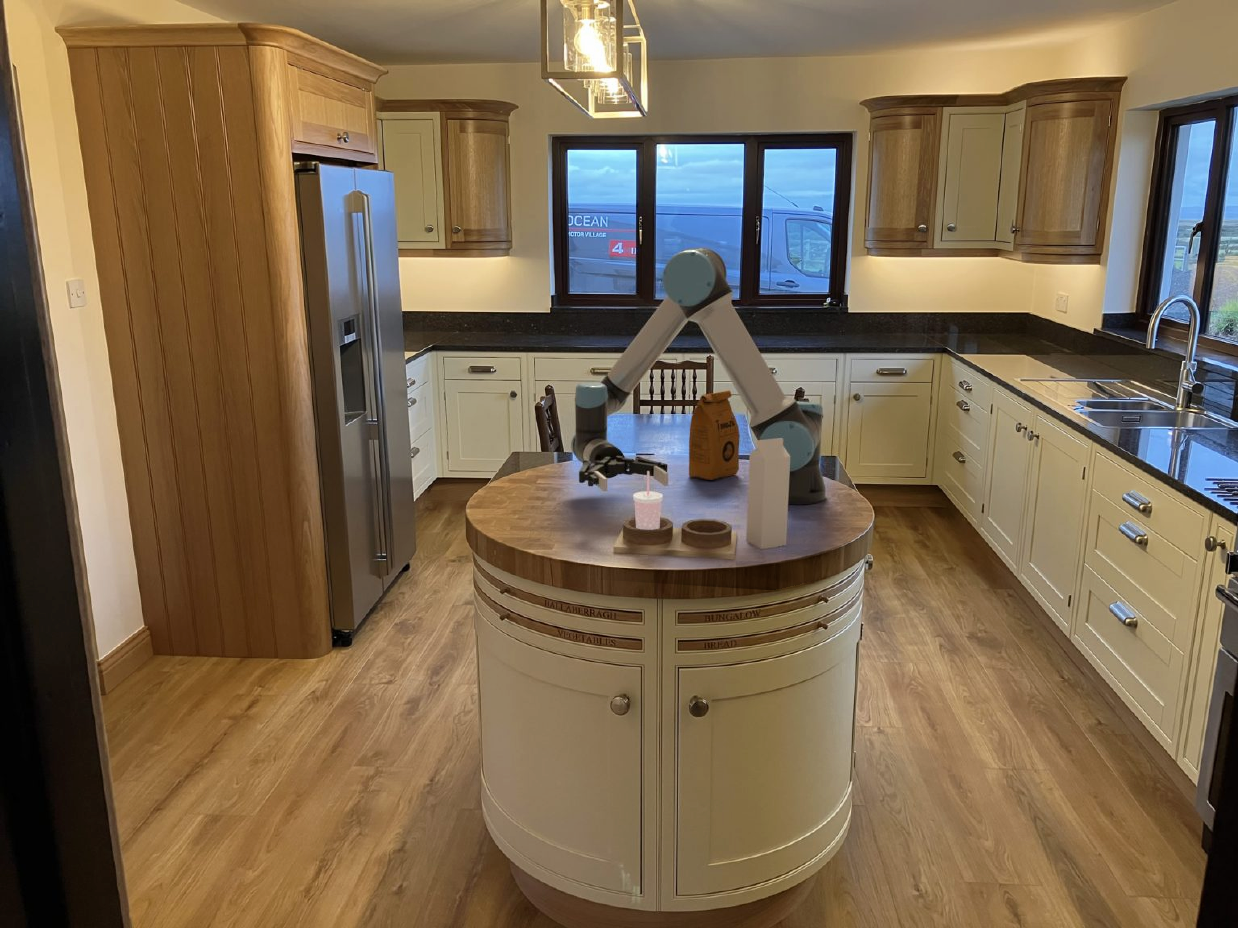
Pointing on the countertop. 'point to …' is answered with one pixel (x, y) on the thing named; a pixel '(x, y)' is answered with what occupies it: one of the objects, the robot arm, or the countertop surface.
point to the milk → (768, 494)
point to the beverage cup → (647, 508)
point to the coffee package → (713, 438)
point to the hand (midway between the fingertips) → (636, 482)
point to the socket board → (679, 539)
